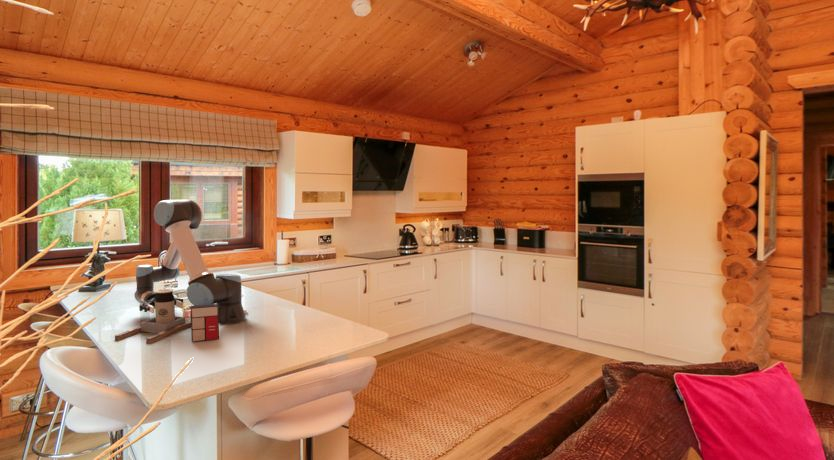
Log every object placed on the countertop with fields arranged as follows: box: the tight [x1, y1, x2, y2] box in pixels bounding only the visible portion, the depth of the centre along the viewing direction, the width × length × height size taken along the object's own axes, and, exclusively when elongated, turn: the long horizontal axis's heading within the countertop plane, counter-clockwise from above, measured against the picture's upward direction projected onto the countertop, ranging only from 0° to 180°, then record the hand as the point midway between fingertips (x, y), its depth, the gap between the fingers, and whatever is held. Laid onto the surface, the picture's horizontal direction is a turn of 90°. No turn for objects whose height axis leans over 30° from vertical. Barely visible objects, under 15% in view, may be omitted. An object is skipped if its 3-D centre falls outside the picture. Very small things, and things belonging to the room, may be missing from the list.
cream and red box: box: [190, 304, 220, 343], centre depth 214 cm, size 11×4×15 cm, turn 114°
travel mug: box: [154, 288, 176, 324], centre depth 229 cm, size 8×8×18 cm
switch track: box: [114, 321, 191, 344], centre depth 223 cm, size 18×26×2 cm
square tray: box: [140, 315, 187, 334], centre depth 228 cm, size 13×13×4 cm
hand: (168, 307), depth 226 cm, fingers open, 12 cm apart
